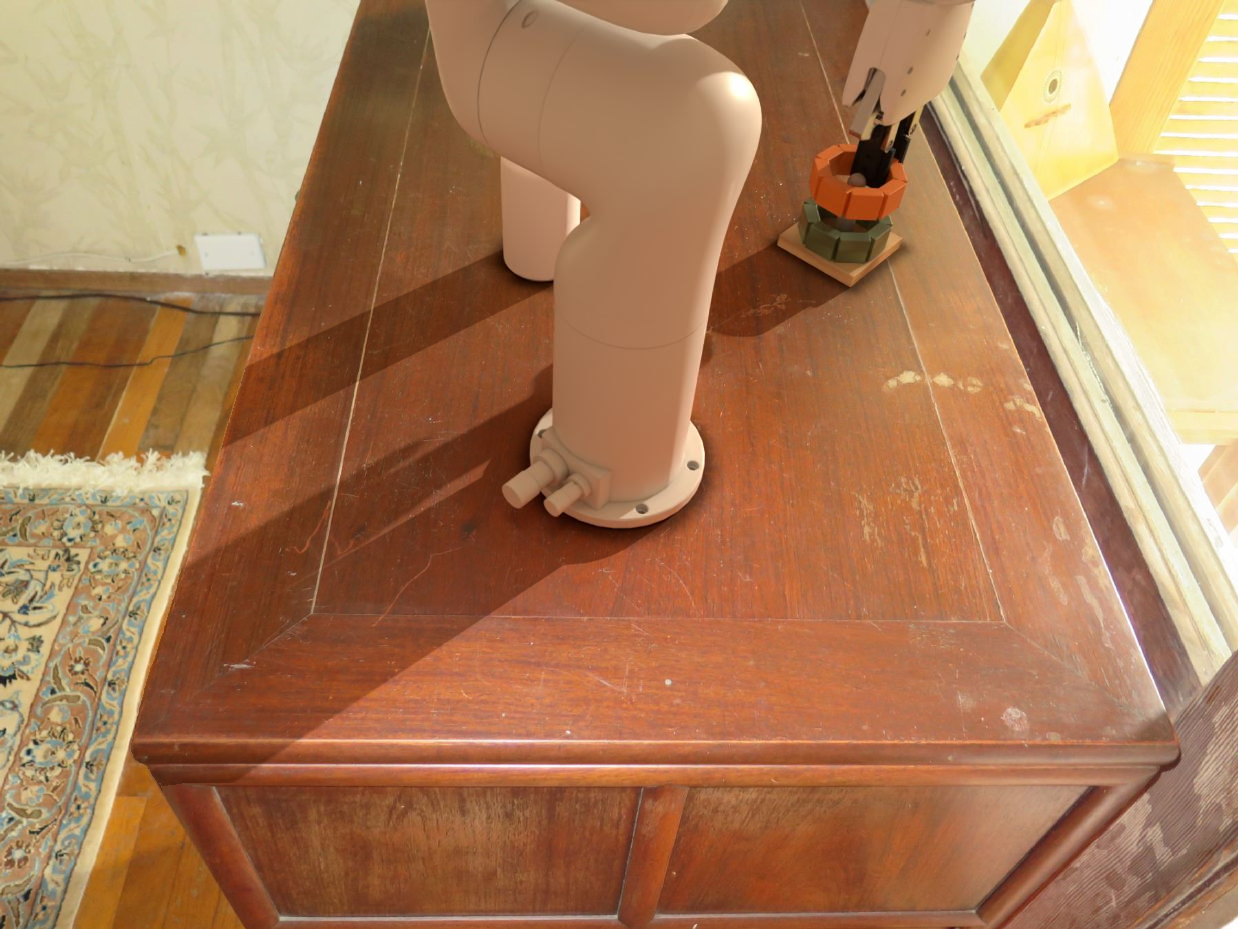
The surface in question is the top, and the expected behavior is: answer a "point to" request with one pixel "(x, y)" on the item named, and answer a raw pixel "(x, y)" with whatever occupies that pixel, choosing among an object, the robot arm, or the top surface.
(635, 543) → the top surface
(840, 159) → the orange ring
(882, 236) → the ring stand
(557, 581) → the top surface
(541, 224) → the can
